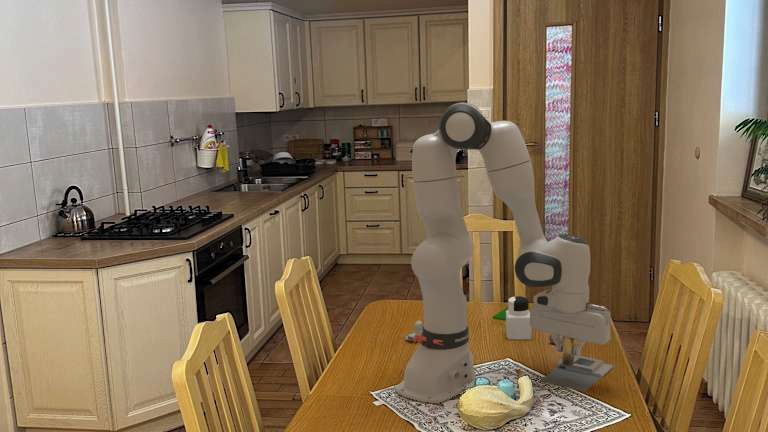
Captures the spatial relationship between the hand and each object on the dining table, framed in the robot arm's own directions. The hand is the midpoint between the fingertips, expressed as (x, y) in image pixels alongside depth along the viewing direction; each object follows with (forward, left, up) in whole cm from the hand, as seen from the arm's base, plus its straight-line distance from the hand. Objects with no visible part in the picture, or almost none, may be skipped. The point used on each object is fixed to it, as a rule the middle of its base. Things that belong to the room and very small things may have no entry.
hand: (568, 352), depth 179 cm
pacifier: (+7, +52, -9) cm, 53 cm away
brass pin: (0, 0, -3) cm, 3 cm away
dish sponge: (+40, +37, -9) cm, 55 cm away
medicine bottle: (+26, +27, -9) cm, 39 cm away
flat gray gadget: (+9, -1, -7) cm, 11 cm away
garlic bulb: (+26, +13, -9) cm, 30 cm away
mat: (+5, -1, -8) cm, 10 cm away
